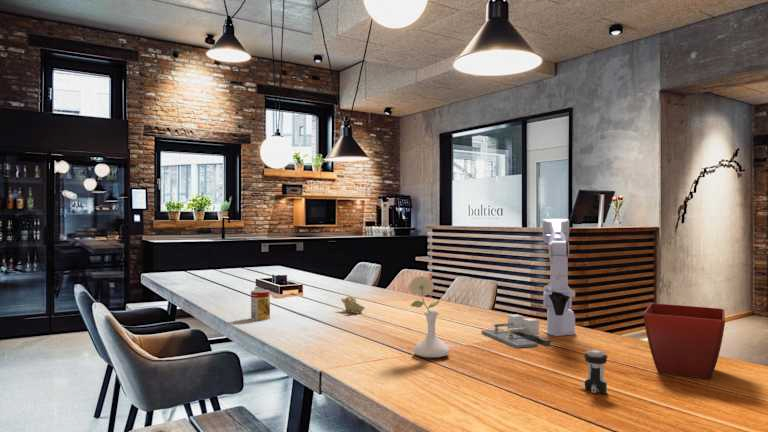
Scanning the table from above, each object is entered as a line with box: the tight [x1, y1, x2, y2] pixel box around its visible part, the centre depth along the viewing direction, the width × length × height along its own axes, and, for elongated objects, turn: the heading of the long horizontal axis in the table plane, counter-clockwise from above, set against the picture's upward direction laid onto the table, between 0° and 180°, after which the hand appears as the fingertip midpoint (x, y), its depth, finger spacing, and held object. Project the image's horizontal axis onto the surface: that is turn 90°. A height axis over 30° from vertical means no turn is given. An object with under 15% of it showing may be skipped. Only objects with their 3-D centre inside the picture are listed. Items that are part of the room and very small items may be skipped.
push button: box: [579, 349, 608, 396], centre depth 133 cm, size 7×5×10 cm
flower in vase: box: [408, 275, 451, 359], centre depth 168 cm, size 13×11×25 cm
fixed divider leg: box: [492, 313, 524, 331], centre depth 199 cm, size 11×4×5 cm, turn 108°
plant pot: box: [643, 302, 726, 380], centre depth 150 cm, size 19×19×17 cm
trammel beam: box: [506, 326, 552, 346], centre depth 192 cm, size 2×24×2 cm, turn 18°
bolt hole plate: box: [481, 328, 539, 349], centre depth 190 cm, size 8×24×1 cm, turn 18°
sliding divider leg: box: [507, 317, 540, 336], centre depth 189 cm, size 11×4×5 cm, turn 108°
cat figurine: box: [341, 295, 365, 314], centre depth 246 cm, size 8×7×12 cm
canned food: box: [250, 289, 271, 322], centre depth 231 cm, size 8×8×12 cm
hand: (559, 315), depth 185 cm, fingers closed
